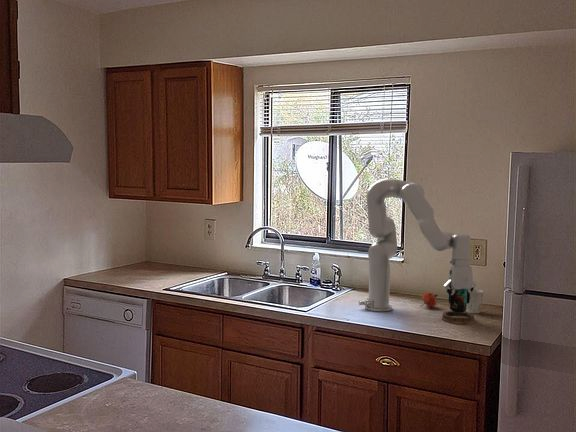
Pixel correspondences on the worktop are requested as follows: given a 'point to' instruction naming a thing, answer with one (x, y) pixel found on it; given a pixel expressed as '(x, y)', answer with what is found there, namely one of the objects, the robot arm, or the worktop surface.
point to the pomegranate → (429, 299)
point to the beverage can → (459, 301)
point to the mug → (475, 301)
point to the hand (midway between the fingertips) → (459, 302)
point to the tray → (458, 317)
